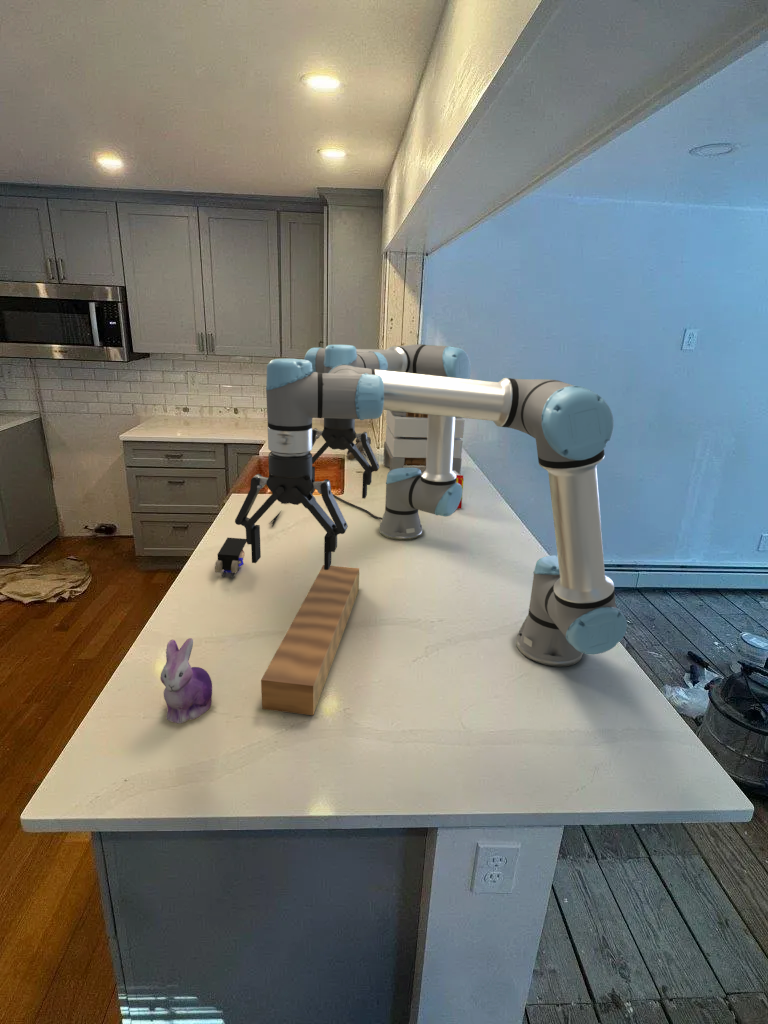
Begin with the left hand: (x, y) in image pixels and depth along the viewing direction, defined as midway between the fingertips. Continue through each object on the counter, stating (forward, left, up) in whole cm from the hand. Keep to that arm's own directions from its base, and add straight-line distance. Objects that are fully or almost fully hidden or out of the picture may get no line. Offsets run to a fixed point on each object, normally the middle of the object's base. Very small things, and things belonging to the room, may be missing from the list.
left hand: (338, 494), depth 144 cm
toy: (-43, +89, -29) cm, 103 cm away
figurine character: (-32, -15, -29) cm, 46 cm away
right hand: (+28, -31, 0) cm, 42 cm away
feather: (-64, +21, -29) cm, 74 cm away
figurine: (+20, -49, -29) cm, 61 cm away
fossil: (-119, +102, -29) cm, 160 cm away
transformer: (-77, +106, -29) cm, 134 cm away
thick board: (+14, -15, -29) cm, 36 cm away
